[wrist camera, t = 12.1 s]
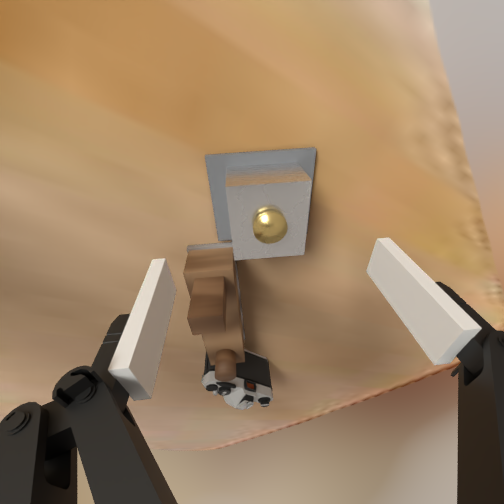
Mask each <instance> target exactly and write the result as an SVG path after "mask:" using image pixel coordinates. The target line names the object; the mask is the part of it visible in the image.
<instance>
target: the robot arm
mask: <svg viewBox="0 0 504 504" xmlns="http://www.w3.org/2000/svg"><path fill="white" fill-rule="evenodd" d="M366 272H367V273H368V275H369V276H370V277H371V279H372V280H373V282H374V283H375V284H376V286H377V287H378V288H379V290H380V291H381V293H382V294H383V295H384V297H385V298H386V299H387V301H388V302H389V304H390V305H391V306H392V308H393V309H394V310H395V312H396V313H397V315H398V316H399V317H400V319H401V320H402V321H403V323H404V324H405V326H406V327H407V328H408V330H409V331H410V332H411V334H412V335H413V337H414V338H415V339H416V341H417V342H418V343H419V345H420V346H421V348H422V349H423V350H424V352H425V353H426V354H427V356H428V357H429V359H430V360H431V361H432V363H433V364H434V365H440V364H448V363H451V362H452V360H453V359H454V358H455V357H456V356H457V358H458V359H459V360H460V361H461V363H460V364H459V365H458V366H457V367H456V368H455V370H454V371H453V372H452V373H451V376H453V377H454V376H455V375H456V374H457V373H458V372H459V374H458V375H459V376H458V382H459V383H458V386H459V387H458V486H457V487H458V488H457V504H504V332H503V331H497V330H495V329H494V328H493V327H492V326H491V325H490V324H489V323H488V322H487V321H485V320H484V319H483V318H482V317H481V316H480V315H479V314H478V313H477V312H476V311H475V310H474V309H473V308H471V307H470V306H469V305H468V304H466V302H465V301H464V300H463V299H462V298H460V297H459V295H458V294H456V293H455V292H454V291H453V290H452V289H451V288H450V287H448V286H446V285H444V284H443V283H441V282H434V281H433V280H432V279H431V278H430V277H429V276H428V275H427V274H426V273H425V272H424V271H423V270H422V269H421V268H420V267H419V266H418V265H417V264H416V263H415V262H413V261H412V260H411V259H410V258H409V257H408V256H407V255H406V254H405V253H404V252H403V251H402V250H401V249H400V248H399V247H398V246H397V245H396V244H395V243H394V242H393V241H392V240H391V239H390V238H378V239H377V240H376V243H375V246H374V249H373V252H372V255H371V258H370V261H369V264H368V267H367V270H366ZM175 295H176V287H175V284H174V281H173V279H172V276H171V273H170V270H169V267H168V264H167V261H166V259H165V258H163V259H152V262H151V264H150V267H149V269H148V272H147V274H146V277H145V279H144V282H143V284H142V287H141V289H140V292H139V294H138V296H137V299H136V301H135V304H134V306H133V309H132V311H131V314H124V315H119V316H118V317H117V318H116V319H115V320H114V321H113V323H112V324H111V326H110V328H109V330H108V332H107V336H105V338H104V341H103V344H102V345H101V347H100V349H99V351H98V353H97V356H96V358H95V360H94V362H93V364H92V366H91V367H89V366H80V367H76V368H75V369H73V370H71V371H69V372H68V373H66V374H65V375H64V376H63V377H62V378H61V379H60V380H59V381H58V383H57V384H56V385H55V388H54V390H53V393H52V399H53V400H54V401H52V402H50V403H47V404H45V405H42V406H41V405H39V404H38V403H36V402H28V403H25V404H22V405H20V406H19V407H17V408H15V409H14V410H12V411H11V412H10V413H9V414H8V415H7V416H6V417H5V418H4V419H3V420H2V421H1V423H0V504H77V448H78V451H79V454H80V457H81V461H82V464H83V467H84V470H85V473H86V476H87V480H88V483H89V487H90V490H91V493H92V496H93V499H94V502H95V504H178V503H177V502H176V500H175V498H174V496H173V494H172V492H171V490H170V488H169V486H168V484H167V482H166V480H165V478H164V476H163V474H162V472H161V470H160V468H159V466H158V464H157V462H156V461H155V459H154V457H153V455H152V453H151V451H150V449H149V447H148V445H147V443H146V441H145V439H144V437H143V435H142V433H141V431H140V429H139V427H138V425H137V423H136V422H135V420H134V418H133V416H132V414H131V412H130V410H129V408H128V406H127V405H126V404H127V401H128V398H129V396H130V397H131V398H132V399H133V400H134V401H135V400H144V399H151V398H152V393H153V389H154V385H155V381H156V376H157V372H158V368H159V363H160V359H161V355H162V351H163V346H164V342H165V338H166V333H167V329H168V325H169V320H170V316H171V312H172V308H173V303H174V299H175Z"/></svg>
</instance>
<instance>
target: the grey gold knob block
mask: <svg viewBox="0 0 504 504" xmlns="http://www.w3.org/2000/svg"><path fill="white" fill-rule="evenodd" d="M311 186H312V180H311V179H310V177H309V176H308V175H307V174H306V172H305V171H304V170H303V169H302V167H301V166H300V165H299V164H298V163H297V162H289V163H275V164H260V165H246V166H232V167H227V169H226V186H225V187H226V196H227V204H228V212H229V221H230V229H231V237H232V245H233V254H234V260H246V259H258V258H271V257H283V256H295V255H304V252H305V242H306V233H307V223H308V214H309V205H310V195H311Z"/></svg>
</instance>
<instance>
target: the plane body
mask: <svg viewBox="0 0 504 504" xmlns="http://www.w3.org/2000/svg"><path fill="white" fill-rule="evenodd" d="M187 252H188V256H187V260H186V264H185V268H184V272H183V274H184V278H185V281H186V284H187V288H188V291H189V294H190V298H191V301H190V306H189V311H188V317H187V319H188V322H189V325H190V328H191V331H192V334H193V335H199V334H202V338H203V341H204V344H205V348H206V351H207V354H208V358H209V361H210V364H211V365H215V379H216V380H218V381H223V382H226V381H231V380H233V379H235V378H236V363H241V362H245V354H244V340H245V332H244V323H243V314H242V306H241V297H240V288H239V279H238V270H237V262H236V260H234V254H233V245H232V242H227V243H214V244H202V245H189V246H187Z"/></svg>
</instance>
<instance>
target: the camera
mask: <svg viewBox="0 0 504 504" xmlns="http://www.w3.org/2000/svg"><path fill="white" fill-rule="evenodd" d="M244 354H245V362H241V363H236V378H235V379H233V380H231V381H226V382H223V381H218V380H216V379H215V365H211V364H210V361H209V358H208V354H207V351H206V359H205V370H204V378H203V375H202V380H201V382H202V383H203V386H204V387H205V388H206V390H208V391H213V394H214V395H217V394H218V393H219V394H220V395H222V396H223V397H224V400H225V402H226V403H227V404H229V405H231V406H232V407H234V408H237V409H241V410H244V409H248V408H250V407H252V406H253V403H254V402H258V403H260V404H261V406H262V407H267V406H269V402H270V401H272V400H273V393H272V386H271V379H270V371H269V362H268V359H267V358H266V357H264V356H261V355H259V354H256V353H253V352H251V351H248V350H246V349H244ZM203 380H204V381H203ZM253 401H254V402H253Z"/></svg>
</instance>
